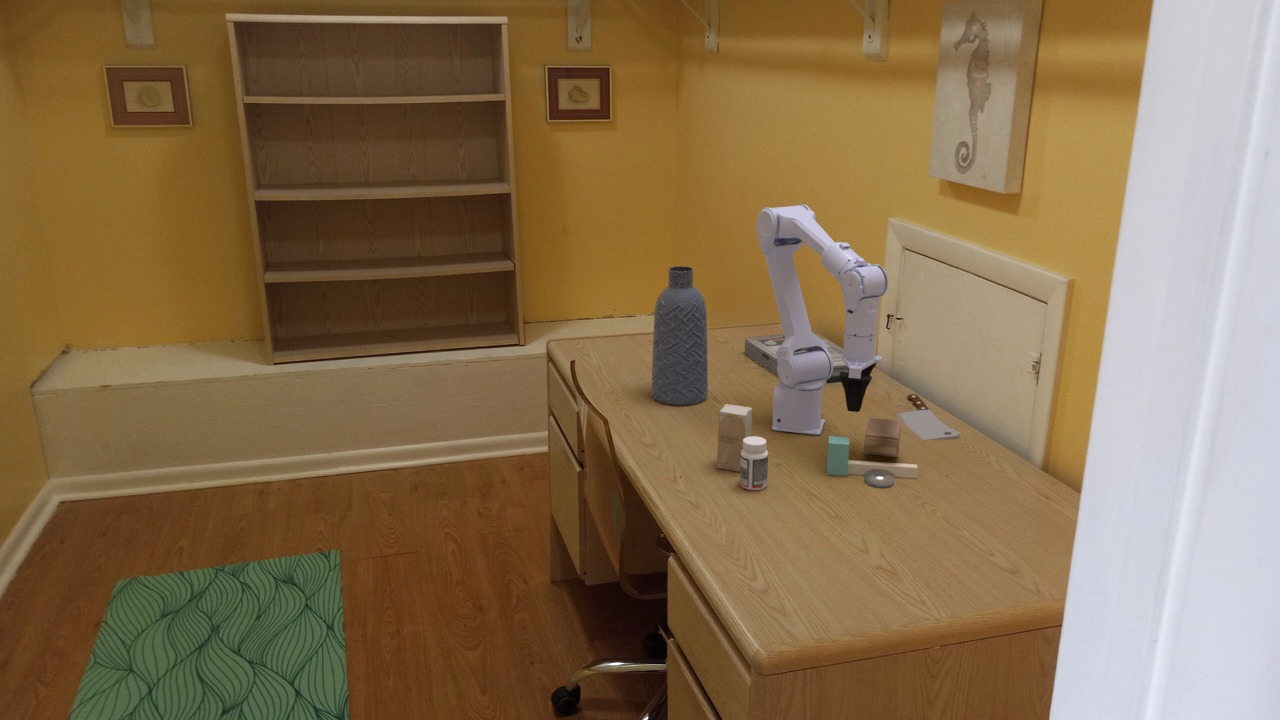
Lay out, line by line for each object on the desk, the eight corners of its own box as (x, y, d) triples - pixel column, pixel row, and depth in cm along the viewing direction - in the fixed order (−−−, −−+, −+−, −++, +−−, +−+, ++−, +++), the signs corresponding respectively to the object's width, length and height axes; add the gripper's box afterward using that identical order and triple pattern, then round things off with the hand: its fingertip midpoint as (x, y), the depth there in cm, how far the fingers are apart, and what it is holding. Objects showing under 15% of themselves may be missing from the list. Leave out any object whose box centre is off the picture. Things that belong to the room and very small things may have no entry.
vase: (695, 385, 224) (697, 261, 215) (716, 403, 213) (719, 272, 204) (643, 391, 220) (643, 265, 212) (662, 409, 209) (663, 277, 201)
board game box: (793, 389, 222) (794, 370, 221) (743, 355, 247) (743, 338, 245) (866, 380, 228) (867, 361, 227) (809, 348, 253) (810, 331, 251)
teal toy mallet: (827, 474, 177) (829, 443, 176) (826, 467, 181) (828, 436, 179) (917, 480, 175) (920, 448, 173) (915, 472, 178) (918, 441, 176)
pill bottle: (769, 481, 175) (771, 437, 172) (763, 492, 170) (765, 447, 168) (743, 478, 176) (744, 433, 174) (736, 488, 172) (738, 443, 169)
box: (716, 468, 180) (717, 410, 177) (723, 459, 184) (724, 403, 180) (744, 472, 178) (746, 414, 175) (750, 463, 182) (752, 406, 179)
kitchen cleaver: (879, 395, 216) (926, 393, 216) (879, 400, 216) (925, 397, 216) (911, 439, 193) (962, 436, 193) (910, 444, 193) (962, 441, 193)
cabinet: (862, 471, 179) (865, 434, 177) (866, 452, 187) (869, 417, 185) (895, 475, 177) (898, 438, 175) (898, 456, 185) (901, 420, 183)
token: (863, 487, 173) (864, 478, 172) (865, 475, 178) (866, 467, 177) (893, 490, 172) (893, 482, 171) (894, 479, 176) (895, 470, 176)
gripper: (880, 345, 171) (874, 419, 176) (886, 324, 185) (881, 393, 189) (838, 342, 173) (834, 415, 178) (847, 321, 187) (843, 389, 191)
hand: (855, 404), depth 183 cm, fingers open, 7 cm apart
